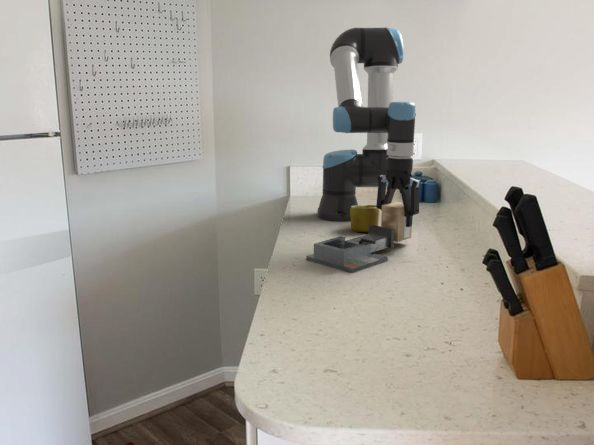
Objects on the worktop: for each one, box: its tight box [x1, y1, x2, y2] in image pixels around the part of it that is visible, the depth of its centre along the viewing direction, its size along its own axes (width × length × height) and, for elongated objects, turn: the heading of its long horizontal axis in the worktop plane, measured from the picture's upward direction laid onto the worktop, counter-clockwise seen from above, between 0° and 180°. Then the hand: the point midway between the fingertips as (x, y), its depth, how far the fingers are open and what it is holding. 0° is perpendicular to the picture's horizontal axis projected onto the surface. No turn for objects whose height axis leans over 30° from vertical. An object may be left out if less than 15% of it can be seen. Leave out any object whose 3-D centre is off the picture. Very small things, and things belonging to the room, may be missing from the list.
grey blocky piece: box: [344, 225, 395, 253], centre depth 164 cm, size 11×13×5 cm
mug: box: [350, 204, 381, 233], centre depth 191 cm, size 12×10×10 cm
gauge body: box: [305, 236, 389, 274], centre depth 159 cm, size 16×15×5 cm
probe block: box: [380, 201, 413, 243], centre depth 173 cm, size 6×7×10 cm
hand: (396, 234), depth 174 cm, fingers closed on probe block, 6 cm apart
